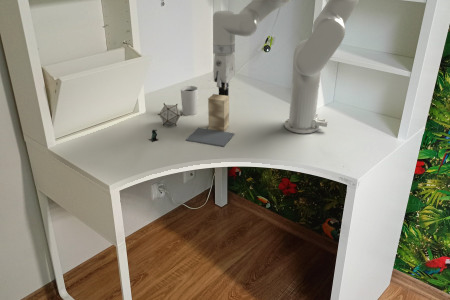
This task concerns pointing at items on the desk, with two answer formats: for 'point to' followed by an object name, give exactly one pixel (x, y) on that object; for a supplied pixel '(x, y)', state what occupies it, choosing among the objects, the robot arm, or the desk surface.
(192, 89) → the white and black cylinder
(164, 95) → the desk surface
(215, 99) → the maple block
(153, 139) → the sculpture
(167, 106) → the game die
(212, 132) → the slate mat
